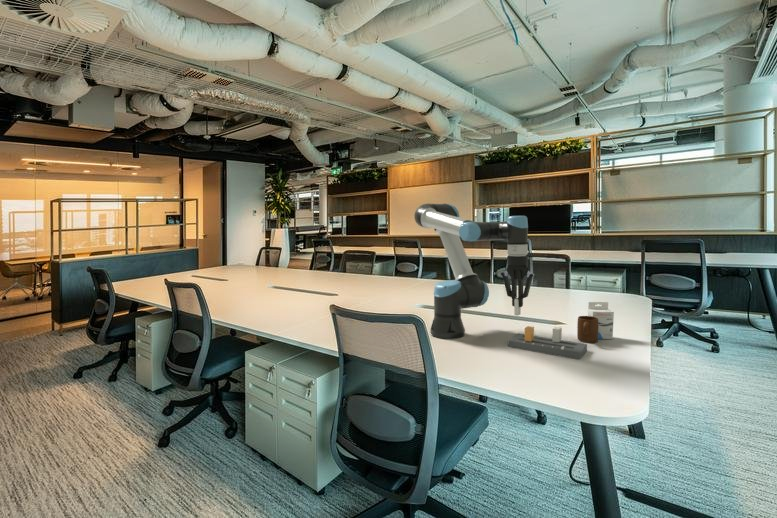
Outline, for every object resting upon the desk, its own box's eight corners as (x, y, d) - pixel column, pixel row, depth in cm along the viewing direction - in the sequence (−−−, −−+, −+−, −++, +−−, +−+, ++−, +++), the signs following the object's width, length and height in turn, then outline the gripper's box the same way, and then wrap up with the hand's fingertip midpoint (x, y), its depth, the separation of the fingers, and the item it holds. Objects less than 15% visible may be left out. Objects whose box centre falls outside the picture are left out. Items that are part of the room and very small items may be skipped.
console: (507, 346, 151) (507, 338, 151) (518, 339, 161) (518, 331, 161) (579, 359, 136) (580, 350, 135) (586, 350, 145) (587, 342, 145)
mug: (596, 347, 148) (596, 323, 148) (574, 344, 153) (574, 321, 152) (598, 339, 158) (599, 316, 158) (578, 336, 163) (578, 314, 162)
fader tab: (524, 340, 149) (524, 328, 149) (527, 338, 152) (527, 326, 152) (530, 341, 148) (531, 328, 148) (533, 339, 151) (533, 326, 150)
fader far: (552, 341, 148) (552, 328, 147) (554, 339, 151) (555, 326, 150) (559, 342, 146) (559, 329, 146) (561, 340, 149) (561, 327, 149)
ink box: (592, 339, 159) (593, 304, 158) (586, 335, 164) (587, 301, 163) (613, 339, 158) (614, 304, 157) (607, 336, 163) (608, 301, 162)
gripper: (497, 255, 151) (497, 314, 153) (531, 256, 143) (531, 318, 145) (504, 254, 157) (504, 311, 159) (537, 255, 149) (537, 314, 151)
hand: (517, 314), depth 152 cm, fingers closed
